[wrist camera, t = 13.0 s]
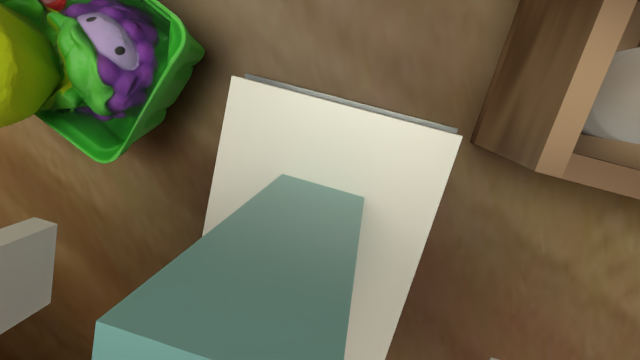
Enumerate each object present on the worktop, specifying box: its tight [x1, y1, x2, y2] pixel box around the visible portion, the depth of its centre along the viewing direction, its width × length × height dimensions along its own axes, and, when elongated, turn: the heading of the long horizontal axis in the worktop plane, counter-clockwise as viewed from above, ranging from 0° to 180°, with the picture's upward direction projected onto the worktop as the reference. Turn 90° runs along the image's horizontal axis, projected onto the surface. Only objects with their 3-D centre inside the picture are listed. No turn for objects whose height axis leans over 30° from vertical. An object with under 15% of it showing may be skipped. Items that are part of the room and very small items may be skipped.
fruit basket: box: [0, 0, 205, 164], centre depth 15 cm, size 11×9×11 cm
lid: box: [92, 76, 463, 360], centre depth 13 cm, size 13×11×14 cm
